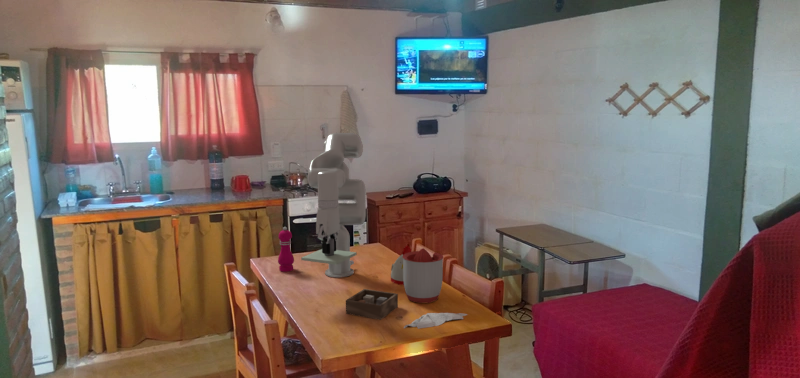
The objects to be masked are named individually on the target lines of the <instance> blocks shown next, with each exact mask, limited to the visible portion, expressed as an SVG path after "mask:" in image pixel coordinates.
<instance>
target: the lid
mask: <svg viewBox="0 0 800 378" xmlns="http://www.w3.org/2000/svg"><path fill="white" fill-rule="evenodd" d="M329 243H330V254H324V253H322V248H321V249H318V250H316V251H314V252H311V253H309V254H307V255H306V254H305V256H301V261H305V262H311V263H319V264H327V265H329V264H334V265H337V264H339V263H341V262H343V261H345V260H347V259H349V258H350V259H351V258H353V257H355V256H357V251H350V252H349V251H341V250H336V251H334V239H333V238H329Z"/></svg>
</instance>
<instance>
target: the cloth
mask: <svg viewBox="0 0 800 378" xmlns="http://www.w3.org/2000/svg"><path fill="white" fill-rule="evenodd" d="M465 316H468V314H467V313H463V312H462V313H454V312H427V313H426V314H423V315H421V316H420V317H419V318H416V319H415V320H413V321H412V322H411V323H410V324H409V323H408V324H405V325H404V326H403V329H406V328H407V327H412V328H417V329H418V330H419V329H426V328H432V327H438V326H441V325H443V324H444V323H446V322H448V321H456V320H464V317H465Z"/></svg>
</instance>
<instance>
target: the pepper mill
mask: <svg viewBox="0 0 800 378" xmlns="http://www.w3.org/2000/svg"><path fill="white" fill-rule="evenodd" d="M292 238H293V234H292V231H290V230H289V229H288V227H286V226H284V227H282V230H280V232H278V240H279V245H280V252H279V255H278V258H277V263H278V265H279V266H278V268H279V269H278V270H279V271H280V272H283V273H284V272H285V273H288V272H292V271H294V265H293V264H294V263H295V257H294V255H293V252H292V250H291V244H292V241H291V239H292Z"/></svg>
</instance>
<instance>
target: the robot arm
mask: <svg viewBox="0 0 800 378" xmlns="http://www.w3.org/2000/svg"><path fill="white" fill-rule="evenodd" d="M363 145H364V144H363V142H362V138H361V137H360V136H359V135H358V134H357V133H354V132H334V133H330V134H329V135H328V136H327V137H326V140H325V141H323V145H322V147H323V152H322V153H321V154H319V155H317V156H316V157H315V158H313V160H311V162H310V164H309V168H308V172H307V182H308V185H309V187H311V188H314V189H317V205H318V206H317V211H316V218H315V219H316V220H315V221H316V223H315V233H316V235H317V239H318V240H320V243H321V249H322V253H324V254H330V243H329V238H333V239H334V251H336V250H341V251H349V252H351V249H350V248H351V247H350V246H351V245H350V244H351V242H350V239H351V236H350V233H349V231H348V230H347V228H346V227H345V226H361V225H363V224H364V223H365V222H366V214H367V213H366V212H367V211H366V204H367V203H366V195H367V194H366V184H365V182H364V181H363V180H362V179H360V178H359V179H358V178H355V179H354V178H353V179H352V178H351V179H350V170H349V166H348V165H347V164H346V162H345V161H344V160H345V159H358V158H361V157H362V155H363V152H364V149H363V148H364V146H363ZM341 201H343V202H341ZM344 201H345V202H344ZM348 201H349V203H347V202H348ZM350 201H351V202H352V203H351V202H350ZM354 264H355V261H354V260H351V258H349V259H347V260H345V261H343V262H341V263H339V264H337V265H334V264H328V268H327V269H325V272H324V273H325V274H324V275H326V276H327V277H329V278H346V277H347V278H348V277H349V276H352V275H353V274H354V269H353V268H351V266H352V265H354Z"/></svg>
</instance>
